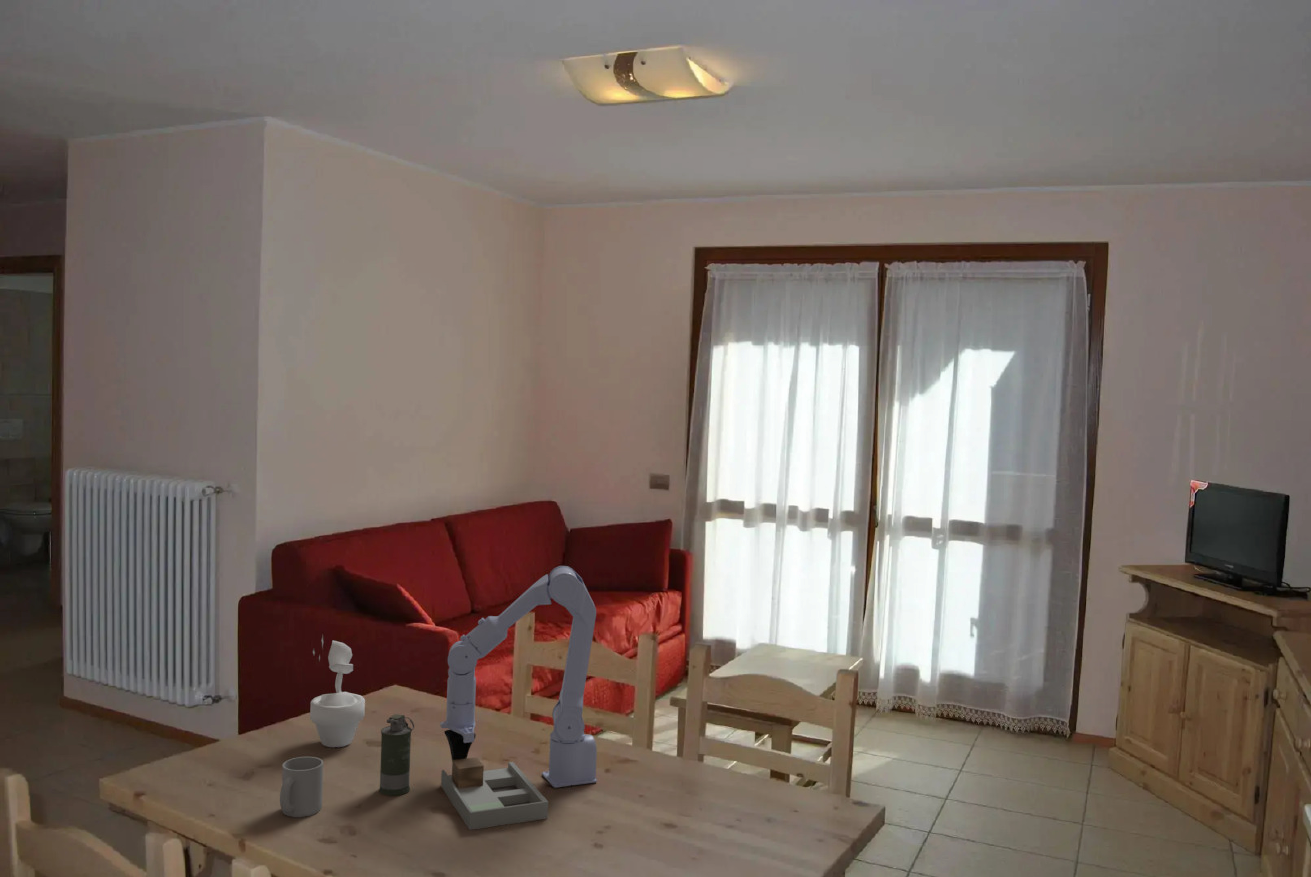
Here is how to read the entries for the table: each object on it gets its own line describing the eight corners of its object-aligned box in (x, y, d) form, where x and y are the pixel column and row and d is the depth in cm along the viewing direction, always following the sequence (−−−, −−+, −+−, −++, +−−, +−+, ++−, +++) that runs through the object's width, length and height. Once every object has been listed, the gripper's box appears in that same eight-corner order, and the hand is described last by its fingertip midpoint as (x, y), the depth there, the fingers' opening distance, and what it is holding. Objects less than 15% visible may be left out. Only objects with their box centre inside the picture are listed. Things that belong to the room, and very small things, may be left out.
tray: (512, 776, 213) (512, 761, 213) (547, 818, 193) (548, 801, 193) (441, 786, 207) (441, 770, 206) (469, 830, 187) (470, 812, 187)
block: (476, 776, 207) (476, 757, 207) (482, 785, 203) (483, 765, 202) (451, 779, 205) (452, 760, 205) (458, 788, 200) (458, 768, 200)
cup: (329, 805, 195) (330, 759, 194) (298, 826, 185) (300, 778, 185) (296, 800, 197) (297, 754, 196) (264, 820, 187) (265, 773, 187)
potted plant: (309, 736, 232) (312, 627, 231) (363, 733, 235) (366, 625, 234) (308, 755, 220) (311, 641, 219) (364, 752, 223) (367, 639, 222)
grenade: (402, 797, 200) (404, 722, 199) (373, 794, 201) (375, 719, 200) (415, 785, 206) (418, 712, 205) (388, 782, 207) (390, 709, 207)
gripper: (433, 692, 214) (431, 756, 215) (450, 713, 201) (448, 781, 201) (466, 689, 217) (464, 752, 218) (485, 709, 204) (483, 776, 205)
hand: (458, 766), depth 210 cm, fingers closed
